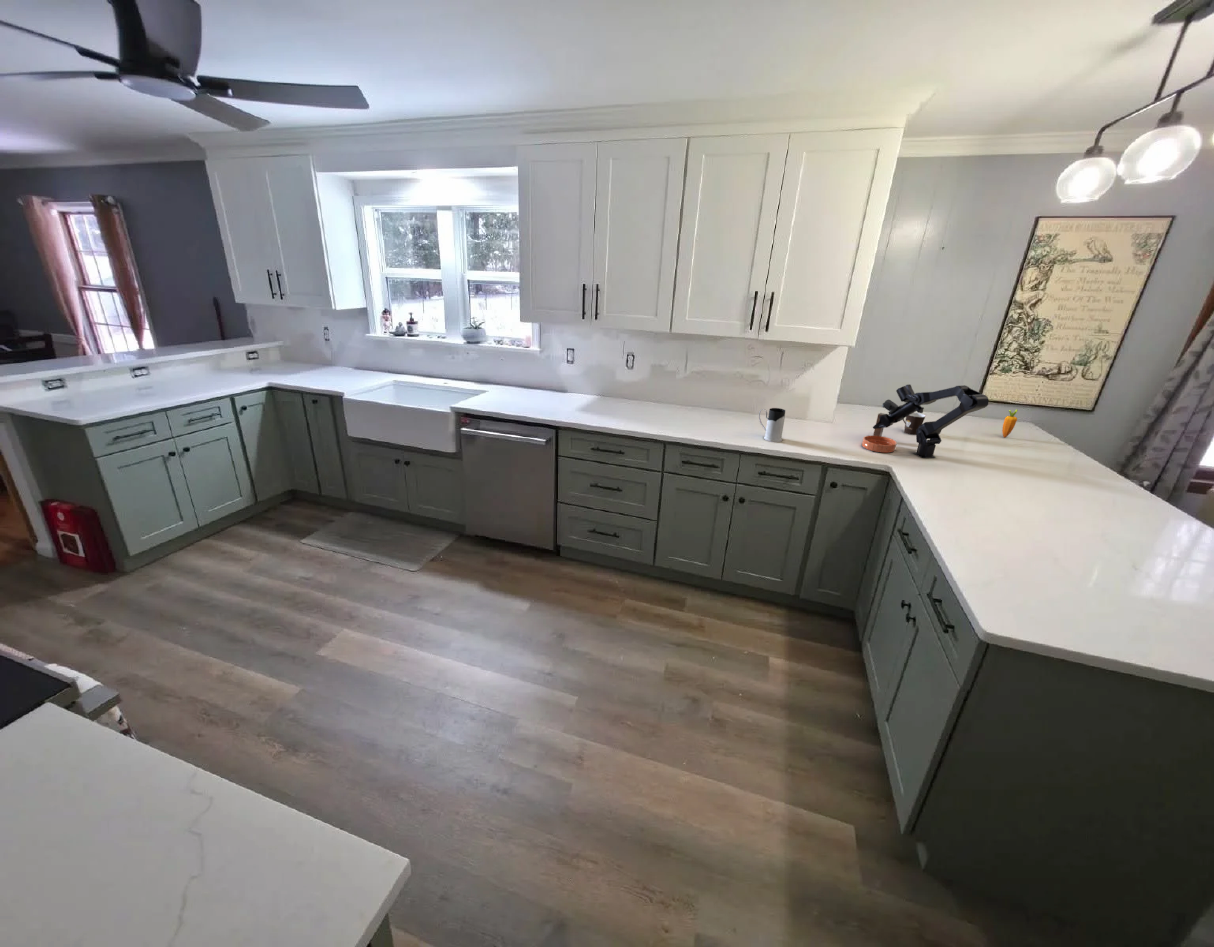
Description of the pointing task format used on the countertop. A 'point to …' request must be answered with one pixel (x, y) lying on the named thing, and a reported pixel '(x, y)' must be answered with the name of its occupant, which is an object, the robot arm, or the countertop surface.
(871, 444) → the bowl
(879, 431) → the brown wooden block
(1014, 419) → the carrot
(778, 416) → the white pitcher
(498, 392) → the countertop surface
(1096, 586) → the countertop surface
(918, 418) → the coffee mug
